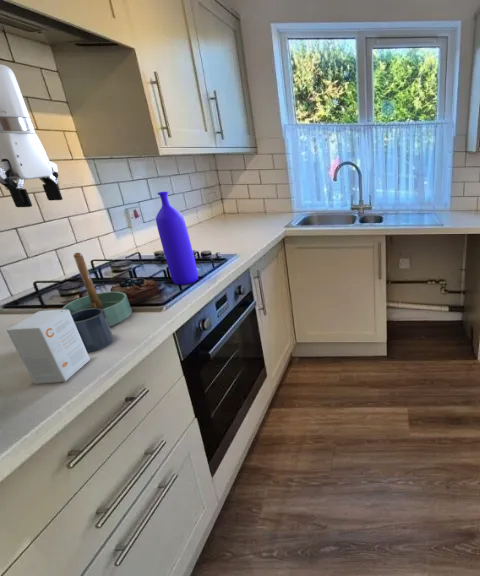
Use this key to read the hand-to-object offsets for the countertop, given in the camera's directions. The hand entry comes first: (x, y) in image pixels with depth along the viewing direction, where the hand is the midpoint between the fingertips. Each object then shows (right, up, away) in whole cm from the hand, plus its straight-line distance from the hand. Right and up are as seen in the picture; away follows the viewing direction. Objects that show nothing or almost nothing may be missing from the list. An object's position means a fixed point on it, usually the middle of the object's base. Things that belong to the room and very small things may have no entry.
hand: (40, 203), depth 88 cm
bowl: (+6, -30, +11) cm, 32 cm away
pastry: (+6, -23, +26) cm, 35 cm away
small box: (+15, -39, -10) cm, 43 cm away
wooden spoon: (+6, -29, +11) cm, 32 cm away
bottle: (+15, -18, +37) cm, 44 cm away
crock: (+13, -34, 0) cm, 37 cm away
